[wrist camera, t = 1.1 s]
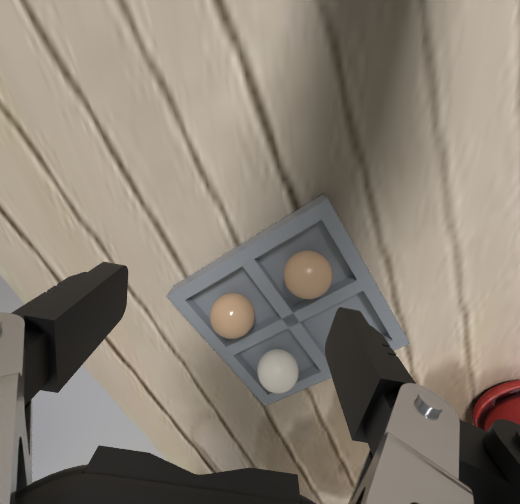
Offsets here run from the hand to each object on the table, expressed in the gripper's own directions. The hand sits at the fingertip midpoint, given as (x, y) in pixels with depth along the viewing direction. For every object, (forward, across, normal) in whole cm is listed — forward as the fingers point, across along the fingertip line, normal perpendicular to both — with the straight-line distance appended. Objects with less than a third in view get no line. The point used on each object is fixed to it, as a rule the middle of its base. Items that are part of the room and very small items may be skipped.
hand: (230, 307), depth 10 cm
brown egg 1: (+17, 0, +11) cm, 20 cm away
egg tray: (+20, -7, +11) cm, 24 cm away
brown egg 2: (+16, -7, +5) cm, 19 cm away
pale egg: (+17, -7, +18) cm, 26 cm away
